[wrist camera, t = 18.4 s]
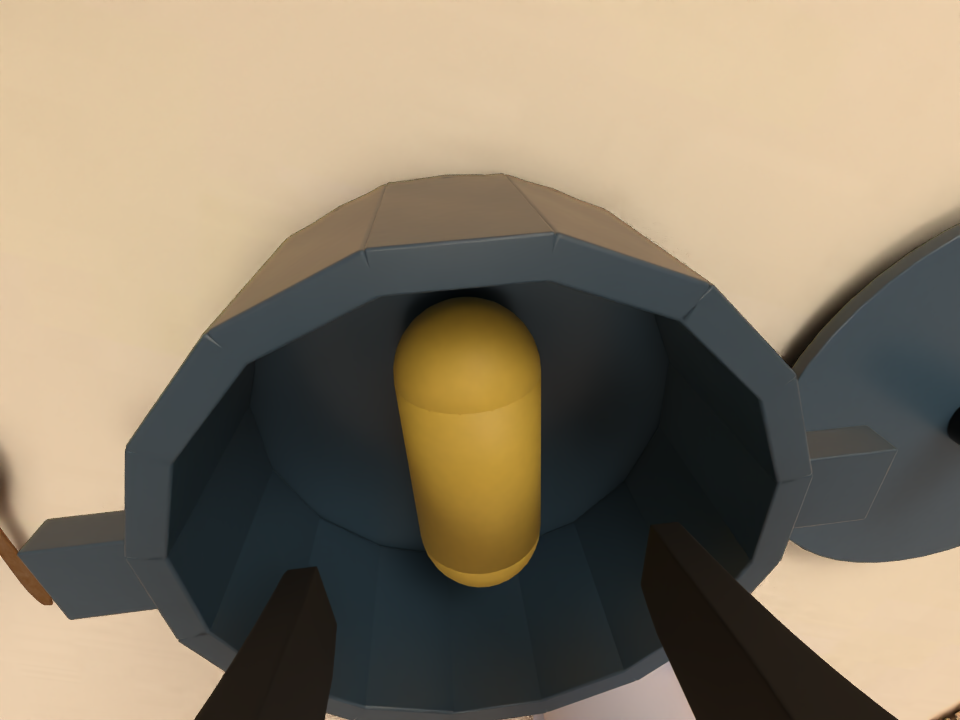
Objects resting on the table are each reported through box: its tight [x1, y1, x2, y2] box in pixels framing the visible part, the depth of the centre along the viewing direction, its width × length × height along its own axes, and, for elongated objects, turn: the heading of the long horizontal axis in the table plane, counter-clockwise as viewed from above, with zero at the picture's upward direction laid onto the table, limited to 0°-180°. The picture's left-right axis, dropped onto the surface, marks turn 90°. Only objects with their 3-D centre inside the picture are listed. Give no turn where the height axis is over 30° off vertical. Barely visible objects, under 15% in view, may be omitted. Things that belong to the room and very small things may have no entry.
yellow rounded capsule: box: [393, 297, 541, 587], centre depth 14 cm, size 9×4×4 cm, turn 3°
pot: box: [17, 174, 898, 720], centre depth 14 cm, size 15×20×6 cm
